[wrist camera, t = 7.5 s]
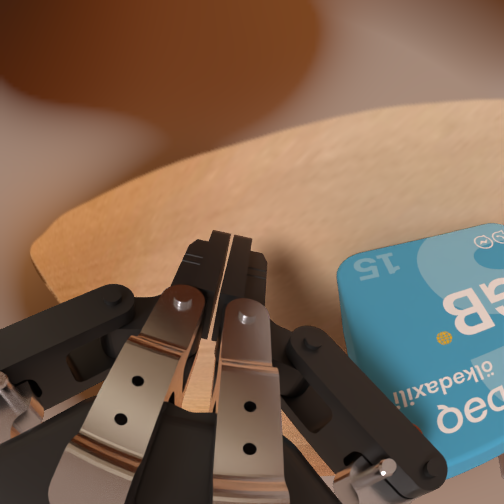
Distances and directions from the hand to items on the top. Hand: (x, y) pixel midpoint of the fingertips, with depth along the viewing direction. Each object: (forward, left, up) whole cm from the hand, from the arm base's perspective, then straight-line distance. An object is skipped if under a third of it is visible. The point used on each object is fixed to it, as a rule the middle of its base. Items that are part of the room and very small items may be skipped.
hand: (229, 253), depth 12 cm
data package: (0, -11, -5) cm, 12 cm away
